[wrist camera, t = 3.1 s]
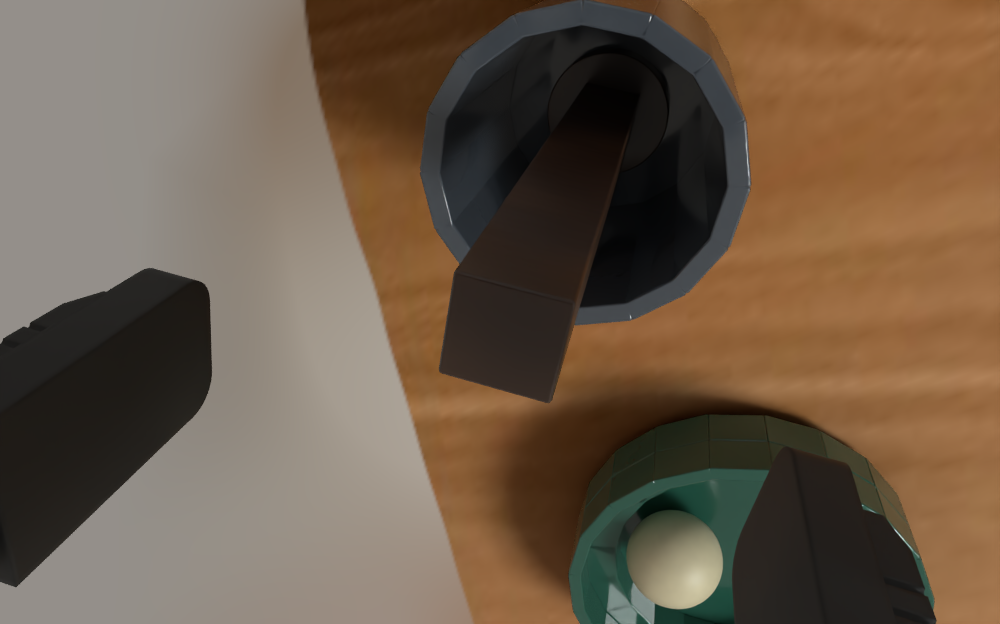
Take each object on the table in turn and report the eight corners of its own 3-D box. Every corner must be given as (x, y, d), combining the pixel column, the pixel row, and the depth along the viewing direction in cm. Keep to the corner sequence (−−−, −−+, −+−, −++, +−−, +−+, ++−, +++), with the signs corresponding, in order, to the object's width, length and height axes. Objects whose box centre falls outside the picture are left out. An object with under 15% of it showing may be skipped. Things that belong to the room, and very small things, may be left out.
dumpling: (620, 543, 37) (612, 612, 34) (642, 479, 35) (637, 545, 32) (705, 569, 37) (707, 642, 33) (733, 506, 35) (739, 576, 31)
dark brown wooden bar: (542, 151, 29) (366, 410, 13) (565, 36, 27) (389, 180, 11) (651, 177, 28) (603, 478, 13) (684, 62, 26) (676, 252, 11)
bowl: (555, 591, 41) (540, 660, 37) (623, 368, 33) (614, 426, 30) (829, 676, 39) (845, 758, 35) (966, 461, 32) (1004, 535, 28)
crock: (484, 184, 31) (405, 281, 22) (523, -43, 27) (443, -31, 18) (690, 235, 30) (690, 357, 21) (764, 8, 26) (803, 45, 17)
